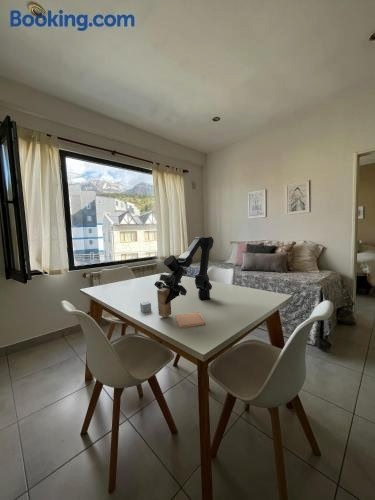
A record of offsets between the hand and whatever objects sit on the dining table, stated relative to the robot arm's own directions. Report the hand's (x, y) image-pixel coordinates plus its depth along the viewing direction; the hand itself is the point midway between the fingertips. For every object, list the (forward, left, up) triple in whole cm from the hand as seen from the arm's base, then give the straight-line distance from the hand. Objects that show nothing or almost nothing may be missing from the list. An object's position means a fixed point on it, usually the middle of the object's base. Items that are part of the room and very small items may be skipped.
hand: (162, 302), depth 101 cm
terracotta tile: (-12, +7, -8) cm, 16 cm away
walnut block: (-1, -1, -7) cm, 7 cm away
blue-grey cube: (+8, -12, -8) cm, 17 cm away
